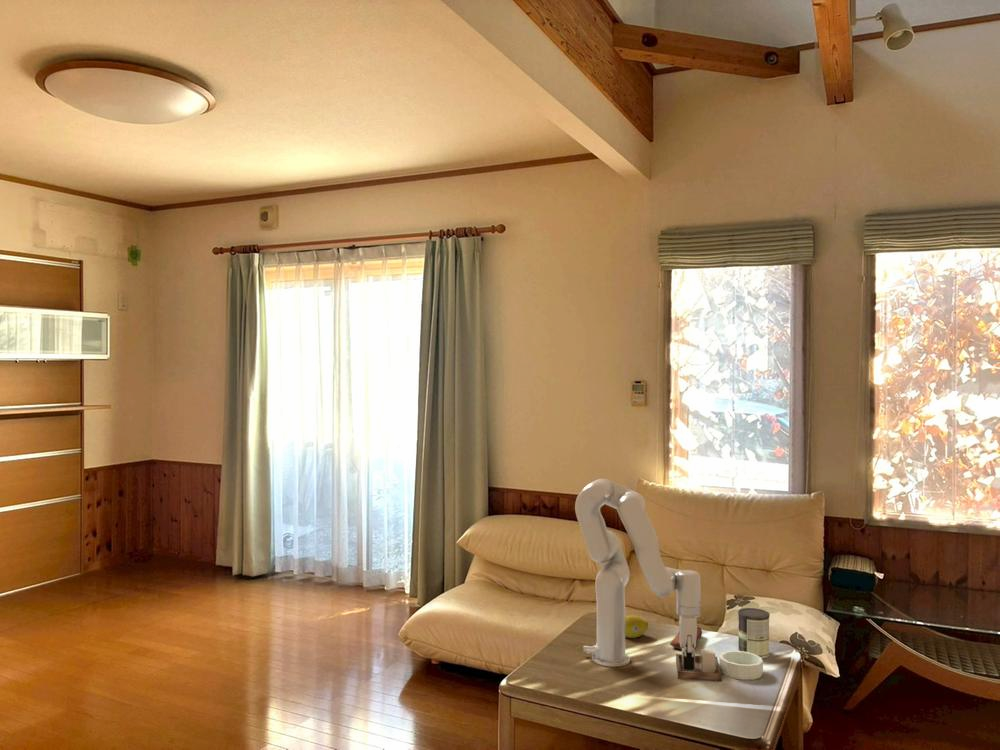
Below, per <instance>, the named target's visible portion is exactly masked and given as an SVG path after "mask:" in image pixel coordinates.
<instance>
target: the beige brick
mask: <svg viewBox="0 0 1000 750" xmlns="http://www.w3.org/2000/svg"><path fill="white" fill-rule="evenodd" d="M699 656H700V669H701V670H702V672H715V657H716V652H715V651H714V649H705V648H704V649H702V648H701V649H699Z"/></svg>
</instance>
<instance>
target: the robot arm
mask: <svg viewBox="0 0 1000 750" xmlns="http://www.w3.org/2000/svg"><path fill="white" fill-rule="evenodd" d="M574 505H575V506H574V512H575V516H576V519H577V522H578V525H579V528H580V531H581V534H582V537H583V540H584V544H585V547H586V550H587V554H588V555H589V558H590V559H591V560H592V561H593V562H594V563H598V564H599V567H600V569H599V570H598V572H597V574H596V577H595V583H594V584H595V585H594V586H595V596H596V643H595V644H594V645H592V646H591V645H590V646H589V645H583V646H582V647H583V652H584V653H585V652H586V654H589V655H590V654H591V661H592V662H593V663H595V664H596V665H599V666H604V667H610V668H617V667H623V666H626V665H628V664H630V662H631V657H630V656H629V655H628V654H627V653H626V637H625V617H626V598H625V597H626V596H625V587H626V586H627V583H629V579H630V576H631V575H630V573H631V572H630V568H629V564H628V561H627V558H626V556H625V553H624V549H623V547H622V543H621V541H620V539H619V537H618V536H617V535H616V533H615V532H613V531H611V530H608V528H607V525H606V521H605V519H604V517H603V515H602V512H601V508H602V507H603V506H604V505H606V506H609V507H611V508H613V509H615V510H616V511H617V514H618V516H619V518H620V521H621V522H622V524H623V526H624V528H625V530H626V532H627V535H628V537H629V539H630V541H631V543H632V545H633V548H634V553H635V556H636V558H637V561H638V564H639V566H640V569H641V572H642V574H643V576H644V578H645V580H646V582H647V584H648V586H649V588H650V590H651V591H652V592H653V593H654V594H655V595H656V596H658V597H661V598H663V597H664V598H665V597H668V596H670V595H671V594H672V593H673V591H676V615H678V616H679V620H678V621H679V624H678V625H679V627H678V628H679V629H678V632H679V642H680V647H681V648H682V647H684V648H685V656H684V669H689V670H694V657H693V649H695V648H696V646H697V644H696V634H697V627H698V626H697V625H698V624H697V623H698V621H697V619H698V618H699V617H701V575H700V573H699V572H697V571H695V570H692V569H683V570H682V569H677V568H673V567H668V566H665V564H664V562H663V559H662V556H661V553H660V552H661V551H660V548H659V537H658V535H657V532H656V530H655V528H654V526H653V523H652V522H651V519H650V518H649V516H648V514H647V511H646V510H645V509H646V500H645V498H644V496H643V495H642V494H640V493H639V492H637V491H635V490H632V489H631V488H629V487H627V486H624V485H621V484H620V483H616V482H615V481H612V480H610V479H606V478H599V479H596V480H594V481H591V482H590V483H589V484H587V485H586V486H584V487H583V488H582V490H581V491H580V492H579V493H578V494H577V496H576V499H575V503H574ZM693 647H694V648H693ZM686 649H688V650H687V651H686Z"/></svg>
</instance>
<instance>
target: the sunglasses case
mask: <svg viewBox="0 0 1000 750" xmlns="http://www.w3.org/2000/svg"><path fill="white" fill-rule="evenodd" d="M702 636H703V631H702V628H701V627H700V626H697V634H696V645H697V644H698V642H699V641H700V639H701V638H702ZM669 645H670V646H672V647H674V648H676V649H678V650H681V651H682V648H684V647H682V648H681V647H680V642H679V631H678V633H677V634H675V636H674V638H672V640H671V641H670V642H669ZM693 648H694V647H693ZM694 649H695V648H694Z"/></svg>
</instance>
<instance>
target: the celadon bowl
mask: <svg viewBox="0 0 1000 750" xmlns="http://www.w3.org/2000/svg"><path fill="white" fill-rule="evenodd" d="M718 663H719V667H720V670H721V674H722V675H724V676H725V677H728V678H731V679H736V680H740V681H741V680H742V681H752V680H759V679H760V678H762V676H763V673H764V661H763V658H761V657H759V656H757V655H755V654H753V653H749V652H744V651H738V650H729V651H723V652H722V653H720V654H719V660H718Z"/></svg>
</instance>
